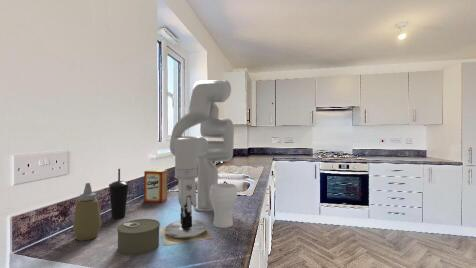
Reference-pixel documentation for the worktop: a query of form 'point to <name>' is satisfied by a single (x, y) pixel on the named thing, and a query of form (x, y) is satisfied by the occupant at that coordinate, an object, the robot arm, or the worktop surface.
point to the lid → (185, 229)
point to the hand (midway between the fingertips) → (186, 225)
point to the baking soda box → (155, 186)
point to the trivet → (171, 240)
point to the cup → (223, 203)
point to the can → (138, 237)
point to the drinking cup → (118, 197)
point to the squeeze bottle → (87, 215)
